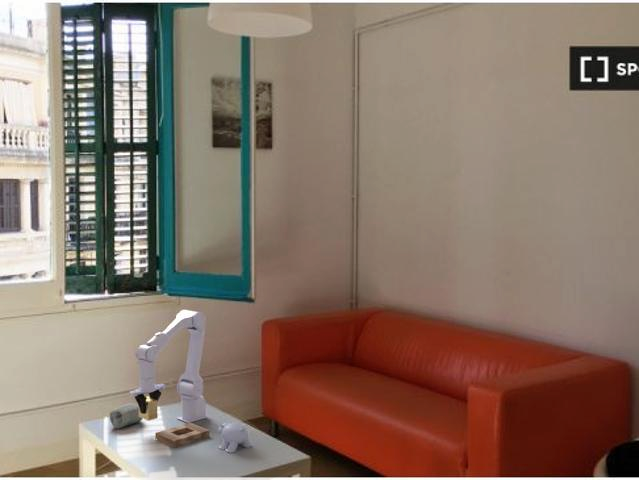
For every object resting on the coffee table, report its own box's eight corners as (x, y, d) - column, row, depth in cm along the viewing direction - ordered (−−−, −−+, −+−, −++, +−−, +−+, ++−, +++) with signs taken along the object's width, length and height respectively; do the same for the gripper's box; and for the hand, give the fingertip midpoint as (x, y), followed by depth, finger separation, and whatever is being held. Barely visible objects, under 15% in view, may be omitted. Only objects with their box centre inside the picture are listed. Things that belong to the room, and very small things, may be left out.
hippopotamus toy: (233, 437, 288) (233, 412, 287) (257, 448, 277) (257, 422, 276) (209, 444, 281) (209, 418, 280) (233, 455, 270) (232, 429, 269)
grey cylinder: (118, 425, 291) (116, 399, 294) (105, 431, 296) (104, 405, 300) (149, 425, 300) (147, 400, 304) (135, 431, 306) (134, 406, 310)
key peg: (147, 414, 293) (147, 396, 292) (157, 418, 289) (157, 400, 288) (138, 416, 290) (138, 398, 290) (148, 420, 286) (148, 402, 285)
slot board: (190, 428, 296) (190, 422, 296) (209, 436, 288) (209, 430, 288) (155, 439, 285) (155, 432, 285) (174, 447, 277) (174, 441, 276)
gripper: (157, 370, 296) (157, 405, 297) (124, 378, 285) (125, 413, 287) (168, 374, 291) (168, 409, 292) (135, 382, 281) (136, 418, 282)
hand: (148, 411), depth 289 cm, fingers closed on key peg, 4 cm apart
